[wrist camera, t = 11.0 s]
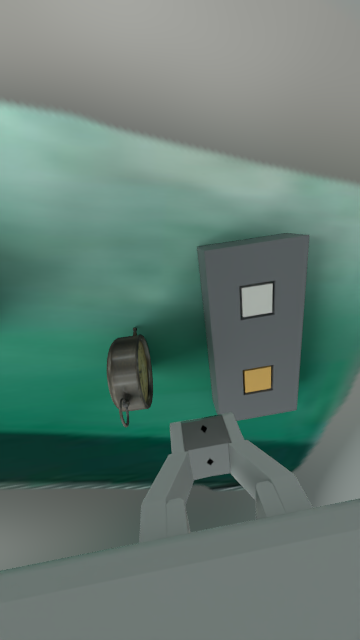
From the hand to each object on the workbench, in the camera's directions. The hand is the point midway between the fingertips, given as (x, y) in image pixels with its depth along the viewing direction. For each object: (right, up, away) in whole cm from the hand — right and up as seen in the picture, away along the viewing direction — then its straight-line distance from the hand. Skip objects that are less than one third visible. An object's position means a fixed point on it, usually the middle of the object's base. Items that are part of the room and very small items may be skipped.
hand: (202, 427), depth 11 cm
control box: (+10, +4, +31) cm, 33 cm away
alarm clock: (-9, 0, +31) cm, 32 cm away
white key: (+10, +9, +25) cm, 29 cm away
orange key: (+12, -4, +31) cm, 33 cm away
